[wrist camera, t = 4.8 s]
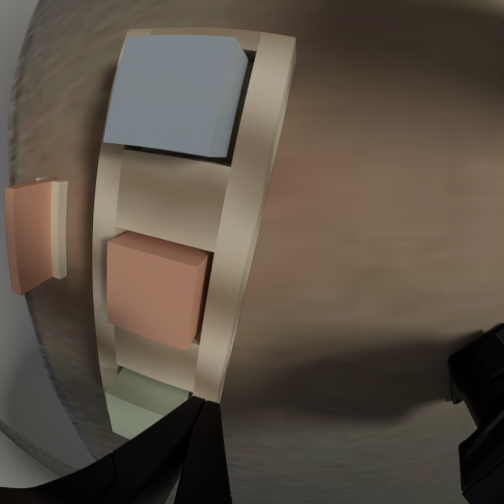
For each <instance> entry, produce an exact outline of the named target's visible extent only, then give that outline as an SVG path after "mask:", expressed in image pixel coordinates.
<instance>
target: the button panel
mask: <svg viewBox="0 0 504 504" xmlns="http://www.w3.org/2000/svg"><path fill="white" fill-rule="evenodd" d="M151 35H209V36H225V37H236V38H237V40H238V41H239V43H240V45H241V47H242V49H243V51H244V53H245V54H246V56H247V58H248V65H247V69H246V73H245V77H244V81H243V85H242V90H241V94H240V98H239V103H238V107H237V111H236V116H235V120H234V125H233V130H232V134H231V139H230V144H229V149H228V153H227V157H206V156H201V155H195V154H189V153H183V152H177V151H170V150H163V149H156V148H149V147H142V146H134V145H125V144H116V143H107V142H103V140H104V134H105V128H106V122H107V117H108V112H109V107H110V102H111V97H112V93H113V88H114V84H115V80H116V76H117V72H118V68H119V64H120V61H121V57H122V54H123V50H124V47H125V44H126V40H127V37H135V36H151ZM295 67H296V37H291V36H285V35H279V34H273V33H266V32H258V31H249V30H239V29H227V28H208V27H164V28H145V29H133V30H128V32H127V35H126V38H125V41H124V44H123V47H122V51H121V54H120V58H119V61H118V65H117V69H116V73H115V77H114V81H113V85H112V89H111V93H110V98H109V103H108V107H107V112H106V118H105V123H104V129H103V135H102V141H101V148H100V155H99V162H98V171H97V180H96V190H95V203H94V219H93V250H92V270H93V301H94V317H95V329H96V339H97V349H98V357H99V364H100V372H101V378H102V384H103V390H104V396H105V401H106V395H105V391H106V390H107V388H108V387H109V386H110V384H111V383H112V382H113V381H114V379H115V378H116V377H117V375H118V374H119V373H120V371H121V370H122V369H123V368H124V367H125V368H127V369H130V370H132V371H135V372H137V373H140V374H142V375H145V376H147V377H150V378H153V379H155V380H158V381H161V382H164V383H166V384H169V385H172V386H175V387H178V388H181V389H184V390H187V391H189V396H188V399H189V398H190V397H191V396H198V397H201V398H204V399H205V400H206V401H207V400H211V401H214V402H217V403H219V404H220V400H221V396H222V391H223V387H224V382H225V378H226V374H227V369H228V365H229V361H230V356H231V352H232V347H233V343H234V338H235V334H236V330H237V325H238V321H239V316H240V312H241V308H242V303H243V299H244V294H245V290H246V285H247V281H248V277H249V272H250V268H251V263H252V259H253V254H254V250H255V246H256V241H257V237H258V232H259V228H260V223H261V219H262V214H263V210H264V206H265V201H266V197H267V192H268V188H269V183H270V179H271V174H272V170H273V165H274V161H275V156H276V152H277V147H278V143H279V139H280V134H281V130H282V125H283V121H284V116H285V112H286V107H287V103H288V98H289V94H290V89H291V85H292V80H293V76H294V71H295ZM128 231H133V232H137V233H141V234H145V235H149V236H152V237H156V238H160V239H164V240H168V241H172V242H176V243H179V244H183V245H187V246H191V247H195V248H199V249H203V250H207V251H211V252H214V254H213V260H212V266H211V272H210V278H209V284H208V290H207V296H206V302H205V308H204V315H203V321H202V324H201V326H200V328H199V330H198V332H197V333H196V335H195V337H194V339H193V340H192V342H191V344H190V346H189V347H188V349H187V351H185V350H182V349H179V348H176V347H173V346H170V345H167V344H164V343H161V342H158V341H155V340H153V339H150V338H147V337H144V336H141V335H139V334H136V333H133V332H131V331H128V330H125V329H123V328H120V327H118V326H115V325H113V324H110V323H108V310H107V246H108V241H110V240H112V239H114V238H116V237H118V236H120V235H122V234H124V233H126V232H128ZM106 406H107V401H106ZM107 411H108V406H107ZM108 413H109V411H108Z"/></svg>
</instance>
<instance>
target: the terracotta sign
mask: <svg viewBox="0 0 504 504" xmlns="http://www.w3.org/2000/svg"><path fill="white" fill-rule="evenodd" d="M67 189H68V181H66V180H60V179H55V178H49V177H40V178H36V181H32V182H27V183H22V184H17V185H12V186H8V187H5V214H6V237H7V250H8V260H9V268H10V276H11V282H12V289H13V291H14V292H16V293H18V294H19V295H21V296H22V295H23V294H25V293H26V292H28V291H30V290H31V289H33V288H35V287H36V286H38V285H40V284H41V283H43V282H45V281H46V280H48V279H50V278H51V277H55V278H57V279H59V280H60V279H62V278H64V277H65V276H67V263H66V207H67Z"/></svg>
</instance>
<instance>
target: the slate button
mask: <svg viewBox="0 0 504 504" xmlns="http://www.w3.org/2000/svg"><path fill="white" fill-rule="evenodd" d="M247 65H248V58H247V56H246V54H245V53H244V51H243V49H242V47H241V45H240V43H239V41H238V40H237V38H236V37H225V36H209V35H151V36H135V37H127V40H126V44H125V47H124V50H123V54H122V57H121V61H120V64H119V68H118V72H117V76H116V80H115V84H114V88H113V93H112V97H111V102H110V107H109V112H108V117H107V122H106V128H105V134H104V140H103V142H107V143H116V144H125V145H134V146H142V147H149V148H156V149H163V150H170V151H177V152H183V153H189V154H195V155H201V156H206V157H227V153H228V149H229V144H230V139H231V134H232V130H233V125H234V120H235V116H236V111H237V107H238V103H239V98H240V94H241V90H242V85H243V81H244V77H245V73H246V69H247Z"/></svg>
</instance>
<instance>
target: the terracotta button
mask: <svg viewBox="0 0 504 504" xmlns="http://www.w3.org/2000/svg"><path fill="white" fill-rule="evenodd" d="M213 254H214V252H211V251H207V250H203V249H199V248H195V247H191V246H187V245H183V244H179V243H176V242H172V241H168V240H164V239H160V238H156V237H152V236H149V235H145V234H141V233H137V232H133V231H128V232H126V233H124V234H122V235H120V236H118V237H116V238H114V239H112V240H110V241H108V246H107V310H108V323H110V324H113V325H115V326H118V327H120V328H123V329H125V330H128V331H131V332H133V333H136V334H139V335H141V336H144V337H147V338H150V339H153V340H155V341H158V342H161V343H164V344H167V345H170V346H173V347H176V348H179V349H182V350H185V351H187V349H188V347H189V346H190V344H191V342H192V340H193V339H194V337H195V335H196V333H197V332H198V330H199V328H200V326H201V324H202V321H203V315H204V308H205V302H206V296H207V290H208V284H209V278H210V272H211V266H212V260H213Z"/></svg>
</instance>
